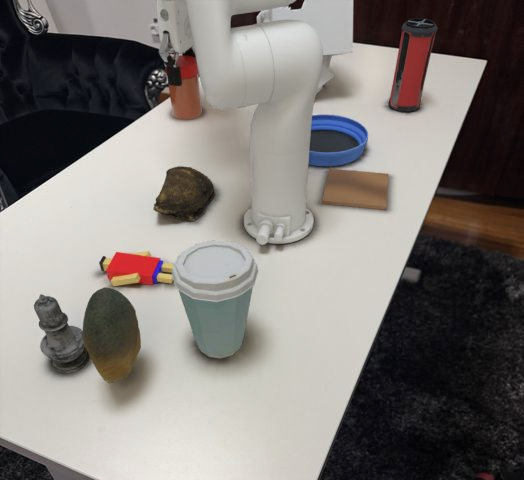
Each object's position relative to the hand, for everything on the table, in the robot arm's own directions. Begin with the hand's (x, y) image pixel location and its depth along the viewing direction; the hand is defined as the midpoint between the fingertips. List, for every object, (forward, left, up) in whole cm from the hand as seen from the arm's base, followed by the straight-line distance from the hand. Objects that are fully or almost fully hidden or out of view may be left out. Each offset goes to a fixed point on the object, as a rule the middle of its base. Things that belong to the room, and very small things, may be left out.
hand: (183, 77), depth 115 cm
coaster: (-28, -43, -8) cm, 52 cm away
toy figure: (-60, -10, -8) cm, 61 cm away
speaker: (+13, -52, -8) cm, 54 cm away
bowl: (-12, -35, -8) cm, 38 cm away
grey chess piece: (-79, -7, -8) cm, 80 cm away
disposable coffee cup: (-72, -27, -8) cm, 77 cm away
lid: (0, 0, +3) cm, 3 cm away
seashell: (-39, -12, -8) cm, 42 cm away
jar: (0, 0, -8) cm, 8 cm away
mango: (-81, -16, -8) cm, 83 cm away
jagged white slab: (+17, -25, -8) cm, 31 cm away
